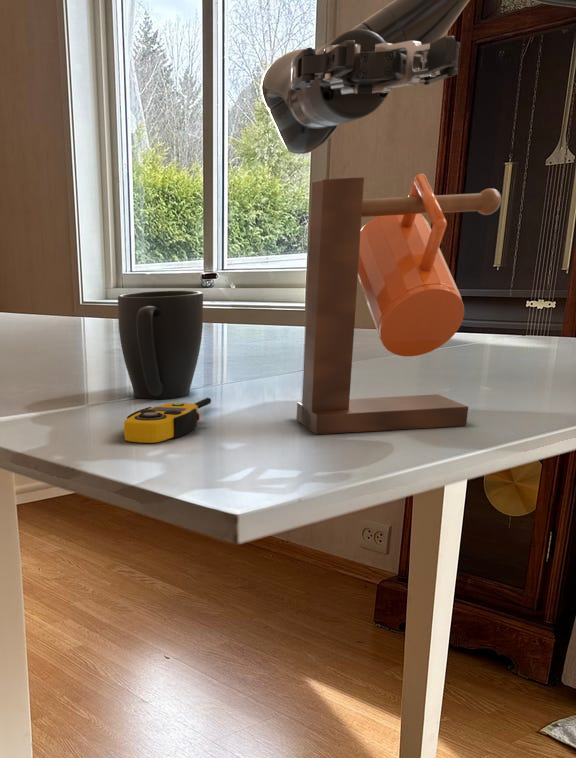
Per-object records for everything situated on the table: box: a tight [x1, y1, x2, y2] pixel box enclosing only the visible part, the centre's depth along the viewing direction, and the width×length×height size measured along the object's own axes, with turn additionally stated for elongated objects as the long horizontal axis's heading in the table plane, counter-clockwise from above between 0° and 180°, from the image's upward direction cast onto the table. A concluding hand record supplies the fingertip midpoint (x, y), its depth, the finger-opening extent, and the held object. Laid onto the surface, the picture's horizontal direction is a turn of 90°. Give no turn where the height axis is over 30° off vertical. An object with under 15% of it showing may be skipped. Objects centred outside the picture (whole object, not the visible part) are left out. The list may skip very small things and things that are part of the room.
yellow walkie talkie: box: [123, 397, 212, 444], centre depth 77 cm, size 5×2×15 cm
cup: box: [358, 173, 465, 357], centre depth 70 cm, size 10×6×10 cm
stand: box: [296, 176, 502, 435], centre depth 71 cm, size 14×6×18 cm, turn 93°
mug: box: [117, 290, 204, 400], centre depth 88 cm, size 8×12×10 cm
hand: (400, 52), depth 78 cm, fingers open, 8 cm apart
